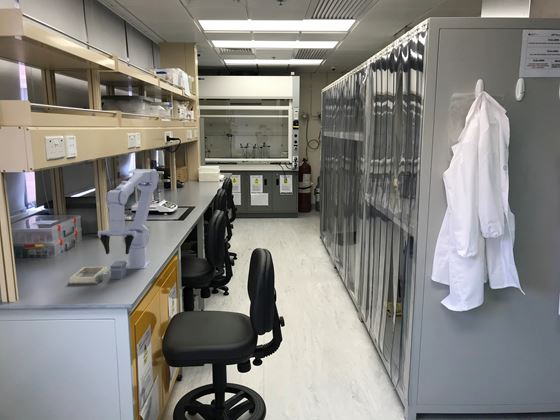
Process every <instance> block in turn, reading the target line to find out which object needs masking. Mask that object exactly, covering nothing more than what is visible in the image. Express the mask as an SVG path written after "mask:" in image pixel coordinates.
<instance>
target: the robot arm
mask: <svg viewBox="0 0 560 420" xmlns="http://www.w3.org/2000/svg"><path fill="white" fill-rule="evenodd" d="M159 180H160V179H159V172H158V171H157V170H156V169H155V168H152V169H150V168H149V169H146V168H145V169H144V168H141V169H140V168H135V169H134V170H132V175H131V177H129V179H128V181H127V180H122V181H121V183H120V184H119V185H118V186H116V188H114V189H112V190H109V191H108V192H107V193H106V195H105V202H106V204H107V210H108V215H109V217H108V218H109V219H108V220H109V222H108V223H109V227H108V229H109V230H108V229H107V230H98V231H97V237H99V240H100V242H101V243H102V245H103V248H104V251H105V254H106V255H109V254H110V250H111V249H110V237H122V243H123V245H124V246H125V255H127V256H128V265H126V270H127V269H128V270H135V269H137V270H139V269H141V270H142V269H144V270H145V269H146V268H147V266H148V265H149V264H150V261H148V256H147V255H148V254H147V253H148V251H147V248H146V247H147V246H148V245H149V243H150V230H149V228H148V227H146V224H147V219H148V215H149V211H150V208H151V203H152V200H153V195H154V192H155V190H157V187H158V183H159ZM135 188H137V190H139V191H140V195H139V200H138V204H137V208H136V211H135V215H134V219H133V223H132V224H131V225H129V226H127V227H126V226H125V225H126V224H125V223H126V222H125V205H126V204H127V202H128V200H129V197H130V195H131V194H133V193H134V191H135ZM125 227H126V229H125Z"/></svg>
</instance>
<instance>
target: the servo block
mask: <svg viewBox="0 0 560 420" xmlns="http://www.w3.org/2000/svg"><path fill="white" fill-rule="evenodd" d="M127 264H128V262H127V261H126V260H115V261H114V262H113V263H112V264H111V265H110V268H109V272H110V278H111V280H122V279H123V278H124V277H125V276H126V275H127V269H126V267H127Z"/></svg>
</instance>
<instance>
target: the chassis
mask: <svg viewBox="0 0 560 420" xmlns="http://www.w3.org/2000/svg"><path fill="white" fill-rule="evenodd" d="M109 274H110V270H108V266H83V267H81V268H80V269H79V270H78V271H76V272H75V273H74V274H72V275H71V276H70V277H69V282H67V285H68V286H69V285H70V286H71V285H72V286H73V285H78V286H79V285H98V284H99V283H101V281H102V280H104V278H105V277H106V276H108V275H109Z"/></svg>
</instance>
